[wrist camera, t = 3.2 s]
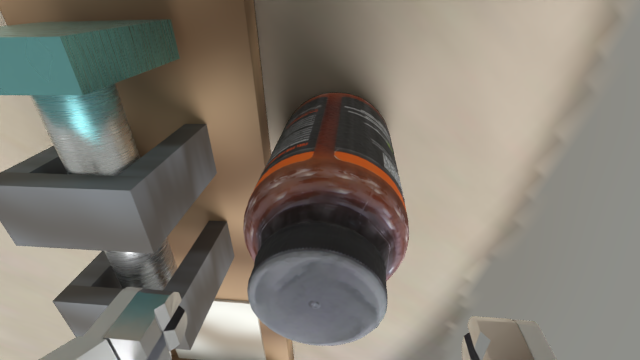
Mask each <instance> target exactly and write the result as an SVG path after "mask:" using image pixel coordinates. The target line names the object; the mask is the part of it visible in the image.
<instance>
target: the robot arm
mask: <svg viewBox="0 0 640 360" xmlns="http://www.w3.org/2000/svg"><path fill="white" fill-rule="evenodd" d="M181 301H182V299H181V297H180V294H179V292H172V291H163V290H154V289H145V288H135V287H126V288H125V289H123V290H121V291H120V293H119V294H118V295H117V296H116V297H115V299H114V300H113V301H112V302H111V303H110V305H109V306H108V307H107V308H106V310H105V311H104V312H103V313H102V314H101V316H100V317H99V318H98V319H97V320H96V322H95V323H94V324H93V325H92V326H91V328H90V329H89V330H88V331H87V332H86V334H85V335H84V336H77V337H76V338H74V339H72V340H71V341H69V342H67V343H66V344H64V345H62V346H61V347H59V348H57V349H56V350H54V351H52V352H51V353H49V354H47V355H46V356H44V357H42V358H41V359H39V360H172V357H171V350H173V349H174V348H175V347H177V346H178V345H179V344H180V343H181V341H182V339H183V337H184V335H185V331H186V327H187V314H186V311H185V310H184V309H183V308H182V307H181V306H179V304H180V303H181ZM467 326H468V329H469V333H468V334H466V335H465V336H464V338H463V341H462V360H557V358H556V357H555V355H554V353H553V351H552V349H551V348H550V346H549V344H548V342H547V340H546V338H545V337H544V335H543V333H542V331H541V329H540V327H539V325H538V324H537V323H535V322H534V321H524V320H511V319H504V318H489V317H475V316H472V317H471V318H470V319H469V322H468V325H467Z"/></svg>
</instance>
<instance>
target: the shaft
mask: <svg viewBox="0 0 640 360" xmlns="http://www.w3.org/2000/svg"><path fill="white" fill-rule="evenodd" d="M177 59H180V57H179V52H178V48H177V44H176V39H175V35H174V31H173V26H172V22H171V19H159V20H111V21H62V22H38V23H28V24H18V25H9V26H0V95H30V96H31V98H32V101H33V103H34V105H35V107H36V109H37V111H38V113H39V115H40V117H41V119H42V122H43V124H44V126H45V128H46V130H47V132H48V134H49V136H50V138H51V140H52V142H53V145H54V147H55V149H56V151H57V153H58V155H59V157H60V159H61V161H62V163H63V166H64V168H65V170H66V172H67V174H76V175H106V176H117V175H119V174H120V173H121V172H123V171H124V170H125V169H127V168H128V167H129V166H131V165H132V164H133V163H134V162H136V161H137V160H138V159H140V156H139V153H138V150H137V147H136V144H135V141H134V138H133V135H132V132H131V129H130V126H129V123H128V120H127V117H126V114H125V111H124V108H123V105H122V102H121V99H120V96H119V94H118V91H117V88H116V85H115V83H117V82H120V81H122V80H125V79H127V78H130V77H133V76H135V75H138V74H141V73H143V72H146V71H148V70H151V69H154V68H156V67H159V66H162V65H164V64H167V63H169V62H172V61H175V60H177ZM105 253H106V256H107V258H108V260H109V262H110V264H111V266H112V268H113V270H114V272H115V274H116V277H117V279H118V281H119V283H120V285H121V287H122V289H125V288H126V287H135V288H145V289H154V290H164V288H165V287H166V285H167V284H168V282H169V281H170V279H171V278H172V276H173V275H174V273H175V272H176V270H177V269H178V268H177V265H176V262H175V259H174V256H173V253H172V250H171V247H170V244H169V241H168V238H166V239H165V240H164V241H163V243H162V244H161V245H160V247H159V248H158V249H157V250H156V252H155V253H154V254H151V253H134V252H117V251H105Z"/></svg>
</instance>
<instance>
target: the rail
mask: <svg viewBox="0 0 640 360" xmlns="http://www.w3.org/2000/svg"><path fill="white" fill-rule="evenodd" d="M0 11H1V13H2V15H3V17H4V19H5V21H6V24H7V26H9V25H18V24H28V23H38V22H62V21H111V20H159V19H171V22H172V26H173V31H174V35H175V39H176V44H177V48H178V52H179V57H180V59H177V60H175V61H172V62H169V63H167V64H164V65H162V66H159V67H156V68H154V69H151V70H148V71H146V72H143V73H141V74H138V75H135V76H133V77H130V78H127V79H125V80H122V81H120V82H117V83H115V85H116V88H117V91H118V94H119V96H120V99H121V102H122V105H123V108H124V111H125V114H126V117H127V120H128V123H129V126H130V129H131V132H132V135H133V138H134V141H135V144H136V147H137V150H138V153H139V156H140V159H138V160H137V161H136V162H134V163H133V164H132V165H131V166H129V167H128V168H127V169H125V170H124V171H123V172H121V173H120V174H119V175H117V176H106V175H76V174H67V172H66V170H65V168H64V166H63V163H62V161H61V159H60V157H59V155H58V153H57V151H56V149H55V147H54V146H52V147H50V148H48V149H46V150H44V151H42V152H40V153H38V154H36V155H34V156H32V157H31V158H29V159H27V160H25V161H23V162H21V163H19V164H17V165H15V166H13V167H11V168H9V169H7V170H5V171H3V172H1V173H0V221H1V223H2V224H3V226H4V227H5V229H6V230H7V232H8V234H9V235H10V237H11V238H12V240H13V241H14V243H15V244H16V245H17V246H33V247H50V248H67V249H84V250H101V251H102V252H101V253H100V254H99V255H98V256H97V257H96V258H95V259H94V260H93V261H92V262H91V263H90V264H89V265H88V266H87V267H86V268H85V269H84V270H83V271H82V272H81V273H80V274H79V275H78V276H77V277H76V278H75V279H74V280H73V281H72V282H71V283H70V284H69V285H68V286H67V287H66V288H65V289H64V290H63V291H62V292H61V293H60V294H59V295H58V296H57V297H56V298H55V299H54V300H53V303H54V304H55V306H56V307H57V309H58V310H59V312H60V313H61V315H62V316H63V318H64V320H65V321H66V323H67V324H68V326H69V327H70V329H71V330H72V332H73V333H74V335H75V336H76V337H77V336H84V335H85V334H86V332H87V331H88V330H89V329H90V328H91V326H92V325H93V324H94V323H95V322H96V320H97V319H98V318H99V317H100V316H101V314H102V313H103V312H104V311H105V310H106V308H107V307H108V306H109V305H110V303H111V302H112V301H113V300H114V299H115V297H116V296H117V295H118V294H119V293H120V291H121V290H123V289H122V287H121V285H120V283H119V281H118V279H117V277H116V274H115V272H114V270H113V268H112V266H111V264H110V262H109V260H108V258H107V256H106V253H105V251H117V252H134V253H151V254H154V253H155V252H156V250H157V249H158V248H159V247H160V245H161V244H162V243H163V241H164V240H165V239H166V238H168V241H169V244H170V247H171V250H172V253H173V256H174V259H175V262H176V265H177V268H178V269H177V270H176V272H175V273H174V275H173V276H172V278H171V279H170V281H169V282H168V284H167V285H166V287H165V288H164V290H163V291H172V292H179V294H180V297H181V299H182V301H181V303H180V304H179V306H181V307H182V308H183V309H184V310H185V311H186V314H187V327H186V331H185V335H184V337H183V339H182V341H181V343H180V344H179V345H178V346H177V347H175V348H174V349H173V350H171V357H172V360H294V356H293V347H292V340H290V339H287V338H285V337H283V336H281V335H279V334H277V333H276V332H274V331H272V330H271V329H269V328H268V327H267V326H266V325H265V324H263V323H262V322H261V321H260V319H259V318H258V317H257V316H256V315H255V313H254V312H253V310H252V308H251V305H250V303H249V300H248V292H247V288H248V281H249V278H250V276H251V273H252V270H253V267H254V261H253V259H252V258H251V256H250V254H249V252H248V249H247V247H246V244H245V238H244V232H243V226H244V214H245V210H246V208H247V205H248V201H249V199H250V197H251V194H252V193H253V191H254V189H255V187H256V184H257V182H258V180H259V178H260V176H261V174H262V172H263V170H264V168H265V166H266V164H267V163H268V161H269V159H270V157H271V151H270V142H269V133H268V124H267V115H266V106H265V97H264V88H263V79H262V70H261V62H260V53H259V44H258V35H257V26H256V17H255V8H254V0H0Z"/></svg>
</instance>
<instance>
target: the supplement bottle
mask: <svg viewBox="0 0 640 360" xmlns="http://www.w3.org/2000/svg"><path fill="white" fill-rule="evenodd" d="M243 232H244V238H245V244H246V247H247V249H248V252H249V254H250V256H251V258H252V259H253V261H254V267H253V270H252V273H251V276H250V278H249V281H248V288H247V292H248V300H249V303H250V305H251V308H252V310H253V312H254V313H255V315H256V316H257V317H258V318H259V319H260V321H261V322H262V323H263V324H265V325H266V326H267V327H268V328H269V329H271V330H272V331H274V332H276V333H277V334H279V335H281V336H283V337H285V338H287V339H290V340H293V341H296V342H300V343H304V344H309V345H328V346H334V345H341V344H345V343H350V342H353V341H356V340H358V339H360V338H362V337H364V336H365V335H367V334H368V333H370V332H371V331H373V329H375V328H377V327H378V325H379V323H380V322H381V321H382V319H383V317H384V315H385V313H386V309H387V289H386V281H387V280H388V279H389V278H390V277H391V276H392V275H393V273H394V272H395V271H396V270H397V268H398V267H399V265H400V264H401V263H402V261H403V259H404V257H405V253H406V250H407V246H408V240H409V226H408V218H407V212H406V208H405V201H404V197H403V192H402V188H401V184H400V178H399V176H398V170H397V166H396V161H395V156H394V151H393V148H392V143H391V138H390V134H389V131H388V129H387V126H386V123H385V121H384V119H383V118H382V116H381V115H380V113H379V112H378V111H377V110H376V109H375V108H374V107H373V106H372V105H371V104H370V103H368V102H367V101H365V100H364V99H362V98H360V97H357V96H354V95H351V94H346V93H326V94H321V95H318V96H316V97H313V98H312V99H310V100H308V101H306V102H305V103H304V104H302V105H301V106H300V107H299V108H298V109H297V110H296V111H295V112H294V114H293V115H292V116H291V118H290V120H289V121H288V123H287V124H286V127H285V129H284V131H283V133H282V135H281V137H280V139H279V141H278V143H277V145H276V146H275V148H274V151H273V152H272V155H271V157H270V159H269V161H268V163H267V164H266V166H265V168H264V170H263V172H262V174H261V176H260V178H259V180H258V182H257V184H256V187H255V189H254V191H253V193H252V194H251V197H250V199H249V201H248V205H247V208H246V210H245V214H244V226H243Z"/></svg>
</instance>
